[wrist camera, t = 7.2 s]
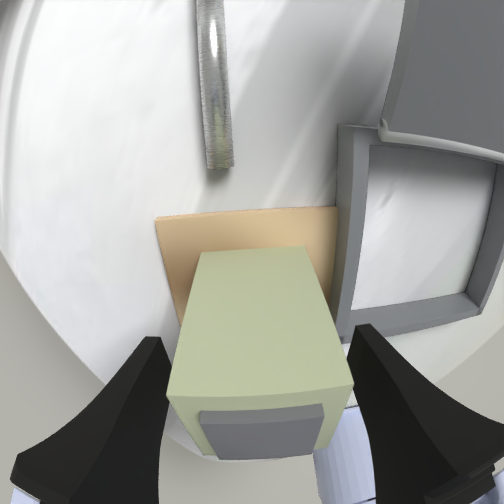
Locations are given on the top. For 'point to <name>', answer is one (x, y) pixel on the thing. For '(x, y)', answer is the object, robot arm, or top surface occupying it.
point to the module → (258, 357)
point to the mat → (245, 241)
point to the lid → (448, 78)
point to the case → (350, 239)
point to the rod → (214, 83)
